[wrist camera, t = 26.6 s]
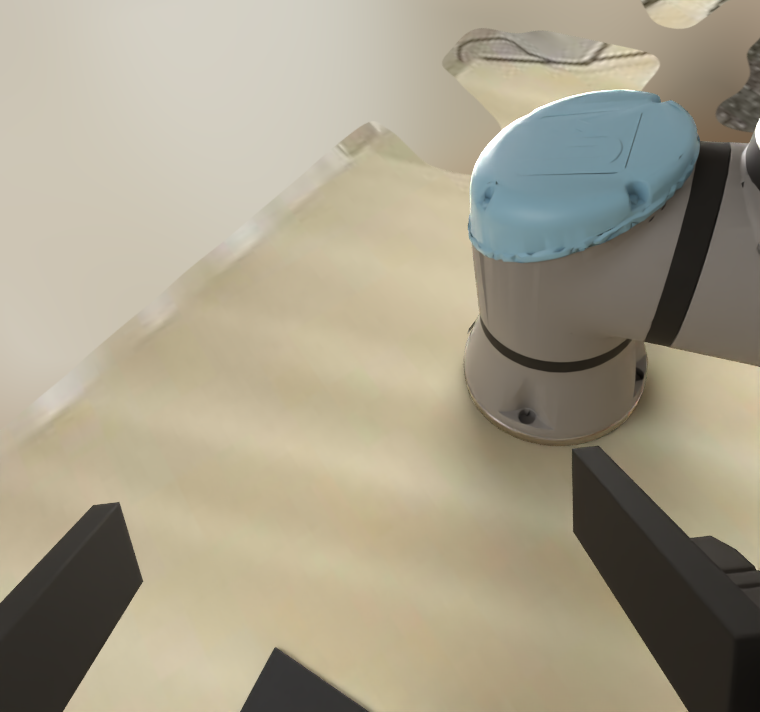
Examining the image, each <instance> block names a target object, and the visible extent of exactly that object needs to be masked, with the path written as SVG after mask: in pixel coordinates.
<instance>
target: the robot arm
mask: <svg viewBox="0 0 760 712" xmlns="http://www.w3.org/2000/svg"><path fill="white" fill-rule="evenodd" d="M468 231H469V239H470V241H471V243H472V251H473V260H474V269H475V278H476V287H477V296H478V306H479V315H478V318H477V319H476V321H475V322H474V323H473V324H472V326H471V327H470V328H469V331H470V330H471V329H472V328H473V329H472V331H471V333H470V335H469V338H468V340H467V344H466V348H465V355H464V373H465V379H466V384H467V388H468V391H469V394H470V396H471V398H472V400H473V402H474V403H475V405H476V407H477V408H478V409H479V411H480V412H481V413H482V414H483V415H484V416H485V417H486V418H487V419H488V420H489V421H490V422H491V423H492V424H494V425H495V426H496V427H498V428H499V429H501V430H502V431H504V432H505V433H507V434H509V435H511V436H513V437H516V438H518V439H521V440H524V441H527V442H531V443H535V444H540V445H548V446H570V445H577V444H582V443H586V442H590V441H593V440H595V439H598V438H600V437H602V436H605V435H607V434H608V433H610V432H612V431H613V430H615V429H616V428H617V427H619V426H620V425H621V424H622V423H623V422H624V421H626V419H627V418H628V417H629V416H630V415H631V414H632V412H633V411H634V409H635V408H636V406H637V404H638V402H639V400H640V397H641V395H642V393H643V390H644V387H645V383H646V378H647V354H646V349H645V345H644V342H648V343H653V344H658V345H663V346H667V347H671V348H676V349H680V350H685V351H690V352H694V353H699V354H703V355H708V356H713V357H717V358H722V359H726V360H731V361H736V362H740V363H745V364H750V365H754V366H759V367H760V118H759V120H758V123H757V126H756V128H755V130H754V133H753V135H752V138H751V140H750V143H732V142H731V143H730V142H727V143H724V142H704V141H700V138H699V136H698V134H697V128H696V125H695V123H694V120H693V118H692V117H691V115H690V114H689V113H688V111H686V110H685V109H684V108H683V107H682V106H681V105H679V104H678V103H676V102H674V101H671V100H670V101H666V102H662V103H661V101H660V97H659V96H658V95H656V94H653V93H649V92H642V91H633V90H607V91H597V92H590V93H584V94H579V95H575V96H571V97H568V98H564V99H561V100H558V101H555V102H552V103H549V104H547V105H544V106H542V107H539V108H537V109H535V110H534V111H533V112H531V113H530V114H528V115H526V116H524V117H521V118H519V119H517V120H516V121H514V122H513V123H511V124H510V125H509V126H507V127H506V128H505V129H503V130H502V131H501V132H500V133H499V134H498V135H497V136H496V137H495V138H494V139H493V140H492V141H491V142H490V143H489V144H488V145H487V146H486V148H485V149H484V150H483V152H482V153H481V155H480V157H479V159H478V160H477V163H476V165H475V167H474V170H473V173H472V176H471V182H470V215H469V223H468ZM473 326H474V327H473ZM469 331H468V333H469ZM572 487H573V532H574V534H575V535H576V537H577V538H578V540H579V541H580V543H581V545H582V546H583V548H584V549H585V551H586V552H587V554H588V555H589V557H590V559H591V560H592V562H593V563H594V565H595V566H596V568H597V570H598V571H599V573H600V574H601V576H602V577H603V579H604V580H605V582H606V584H607V585H608V587H609V588H610V590H611V591H612V593H613V594H614V596H615V598H616V599H617V601H618V602H619V604H620V605H621V607H622V609H623V610H624V612H625V613H626V615H627V616H628V618H629V619H630V621H631V623H632V624H633V626H634V627H635V629H636V630H637V632H638V633H639V635H640V637H641V638H642V640H643V641H644V643H645V644H646V646H647V647H648V649H649V651H650V652H651V654H652V655H653V657H654V658H655V660H656V662H657V663H658V665H659V666H660V668H661V669H662V671H663V672H664V674H665V676H666V677H667V679H668V680H669V682H670V683H671V685H672V686H673V688H674V690H675V691H676V693H677V694H678V696H679V697H680V699H681V701H682V702H683V704H684V705H685V707H686V708H687V710H688V711H689V712H760V571H759V570H756V569H755V566H754V565H753V564H751V563H750V562H749V561H748V560H747V559H746V558H745V557H744V556H743V555H742V554H741V553H739V552H738V551H737V550H736V549H734V548H732V547H731V546H729V545H727V544H725V543H723V542H721V541H720V540H718V539H716V538H714V537H712V536H704V537H696V538H689V537H688V536H687V535H686V533H685V532H684V531H683V530H682V529H681V528H680V527H679V526H678V525H677V524H676V523H675V522H674V521H673V520H672V519H671V518H670V517H669V516H668V515H667V514H666V513H665V512H664V511H663V510H662V509H661V508H660V507H659V506H658V505H657V504H656V503H655V502H654V501H653V500H652V499H651V498H650V497H649V496H648V495H647V494H646V493H645V492H644V491H643V490H642V489H641V488H640V487H639V486H638V485H637V484H636V483H635V482H634V481H633V480H632V479H631V478H630V477H629V476H628V475H627V474H626V473H625V472H624V471H623V470H622V469H621V468H620V467H619V466H618V465H617V464H616V463H615V462H614V461H613V460H612V459H611V458H610V457H609V456H608V455H607V454H606V453H605V452H604V451H603V450H602V449H601V448H600V447H599V446H592V447H583V448H575V449H572ZM142 582H143V580H142V576H141V573H140V570H139V566H138V563H137V560H136V556H135V553H134V550H133V546H132V543H131V540H130V536H129V533H128V530H127V526H126V523H125V520H124V516H123V513H122V510H121V506H120V503H119V502H117V503H108V504H100V505H93V506H92V507H91V508H90V509H89V510H88V511H87V512H86V513H85V514H84V516H83V517H82V518H81V519H80V520H79V521H78V522H77V523H76V524H75V525H74V526H73V527H72V528H71V529H70V530H69V531H68V532H67V533H66V534H65V536H64V537H63V538H62V539H61V540H60V541H59V542H58V543H57V544H56V545H55V546H54V547H53V548H52V549H51V550H50V551H49V552H48V553H47V555H46V556H45V557H44V558H43V559H42V560H41V561H40V562H39V563H38V564H37V565H36V566H35V567H34V568H33V569H32V570H31V571H30V572H29V574H28V575H27V576H26V577H25V578H24V579H23V580H22V581H21V582H20V583H19V584H18V585H17V586H16V587H15V588H14V589H13V590H12V591H11V592H10V594H9V595H8V596H7V597H6V598H5V599H4V600H3V601H2V602H1V603H0V712H63V710H64V709H65V707H66V706H67V704H68V702H69V701H70V699H71V697H72V696H73V694H74V693H75V691H76V689H77V688H78V686H79V684H80V683H81V681H82V680H83V678H84V676H85V675H86V673H87V671H88V670H89V668H90V667H91V665H92V663H93V662H94V660H95V658H96V657H97V655H98V654H99V652H100V650H101V649H102V647H103V645H104V644H105V642H106V641H107V639H108V637H109V636H110V634H111V633H112V631H113V629H114V628H115V626H116V624H117V623H118V621H119V620H120V618H121V616H122V615H123V613H124V611H125V610H126V608H127V607H128V605H129V603H130V602H131V600H132V598H133V597H134V595H135V594H136V592H137V590H138V589H139V587H140V585H141V584H142Z"/></svg>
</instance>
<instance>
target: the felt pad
mask: <svg viewBox="0 0 760 712" xmlns="http://www.w3.org/2000/svg"><path fill="white" fill-rule="evenodd" d="M240 712H368V711H367V710H366V709H364V708H363V707H361V706H360V705H358V704H357V703H355V702H354V701H353V700H351V699H350V698H348V697H347V696H345V695H344V694H342V693H341V692H339V691H338V690H337V689H335V688H334V687H332V686H331V685H329V684H328V683H326V682H325V681H324V680H322V679H321V678H319V677H318V676H316V675H315V674H313V673H312V672H311V671H309V670H308V669H306V668H305V667H303V666H302V665H300V664H299V663H297V662H296V661H295V660H293V659H292V658H290V657H289V656H287V655H286V654H284V653H283V652H282V651H280V650H279V649H277V648H274V650H273V652H272V654H271V655H270V657H269V659H268V661H267V663H266V665H265V667H264V668H263V670H262V672H261V674H260V676H259V678H258V680H257V681H256V683H255V685H254V687H253V689H252V691H251V693H250V694H249V696H248V698H247V700H246V702H245V704H244V706H243V708H242V709H241V711H240Z"/></svg>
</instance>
